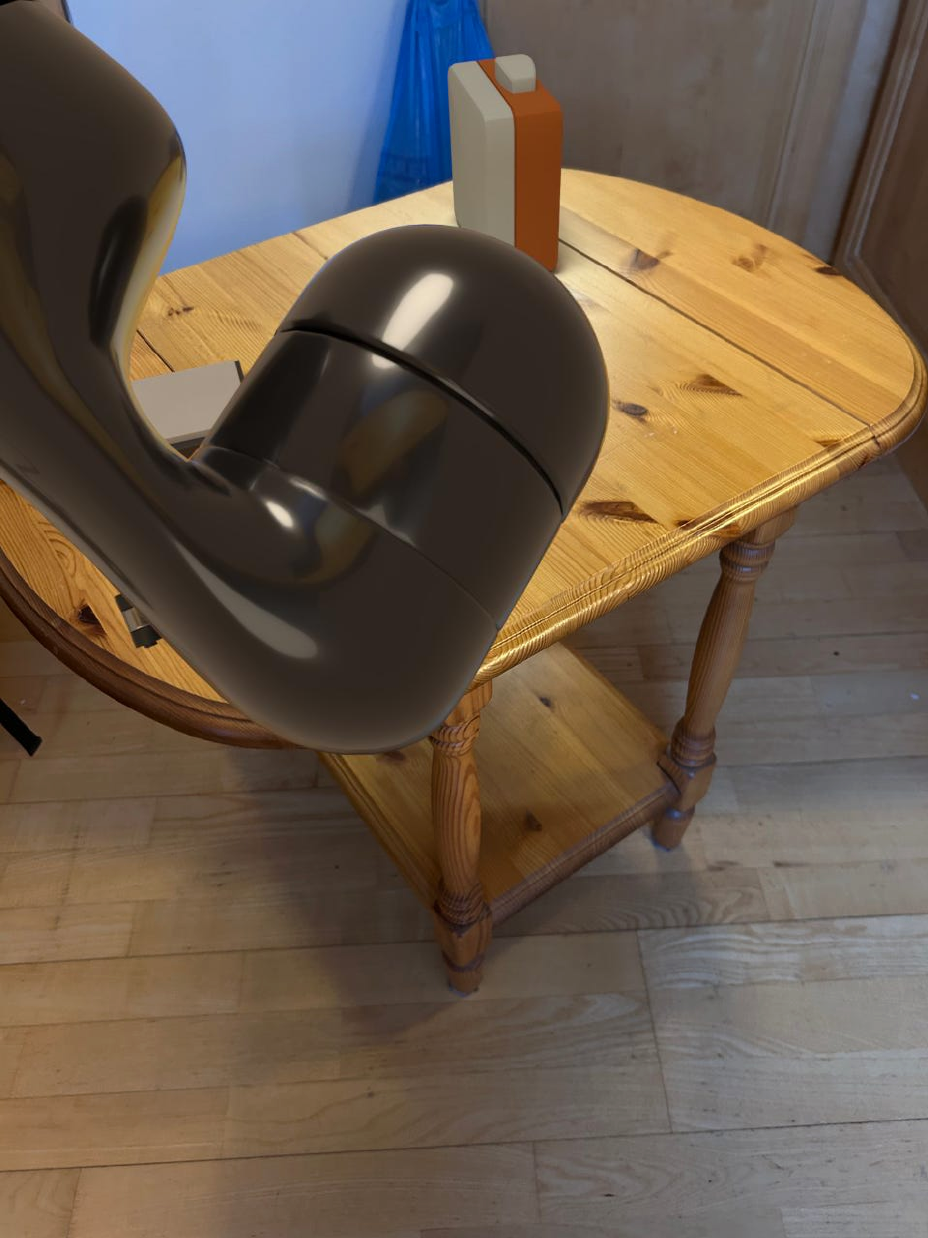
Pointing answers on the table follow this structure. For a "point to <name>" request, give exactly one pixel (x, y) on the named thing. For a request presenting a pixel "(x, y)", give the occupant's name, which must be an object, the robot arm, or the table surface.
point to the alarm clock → (506, 154)
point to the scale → (188, 401)
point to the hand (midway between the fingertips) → (259, 576)
